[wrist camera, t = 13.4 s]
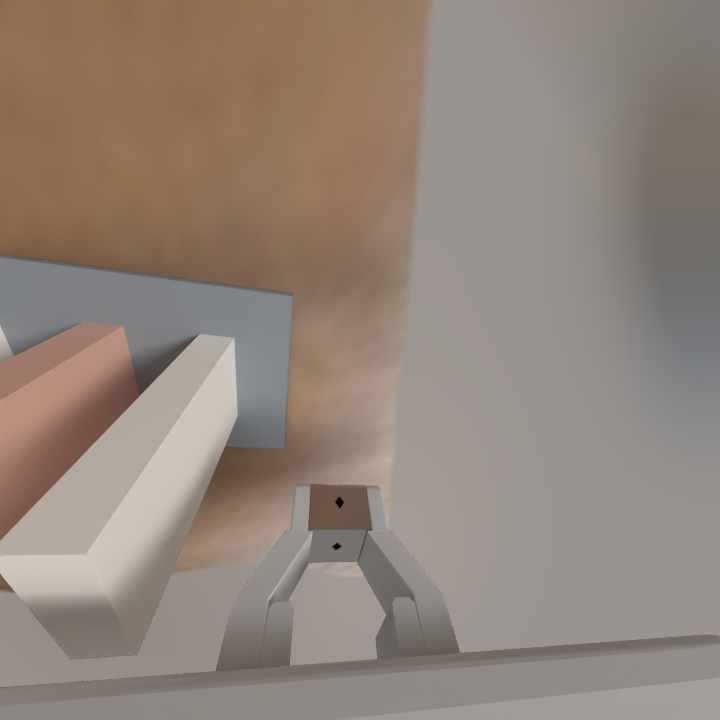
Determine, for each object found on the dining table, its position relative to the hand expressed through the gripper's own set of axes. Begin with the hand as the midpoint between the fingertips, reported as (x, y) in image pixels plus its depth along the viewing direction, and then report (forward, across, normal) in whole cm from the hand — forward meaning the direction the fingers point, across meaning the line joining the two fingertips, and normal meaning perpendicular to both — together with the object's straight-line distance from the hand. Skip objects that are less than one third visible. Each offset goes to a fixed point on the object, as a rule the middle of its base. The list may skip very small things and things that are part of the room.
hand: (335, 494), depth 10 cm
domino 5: (+7, +6, 0) cm, 9 cm away
